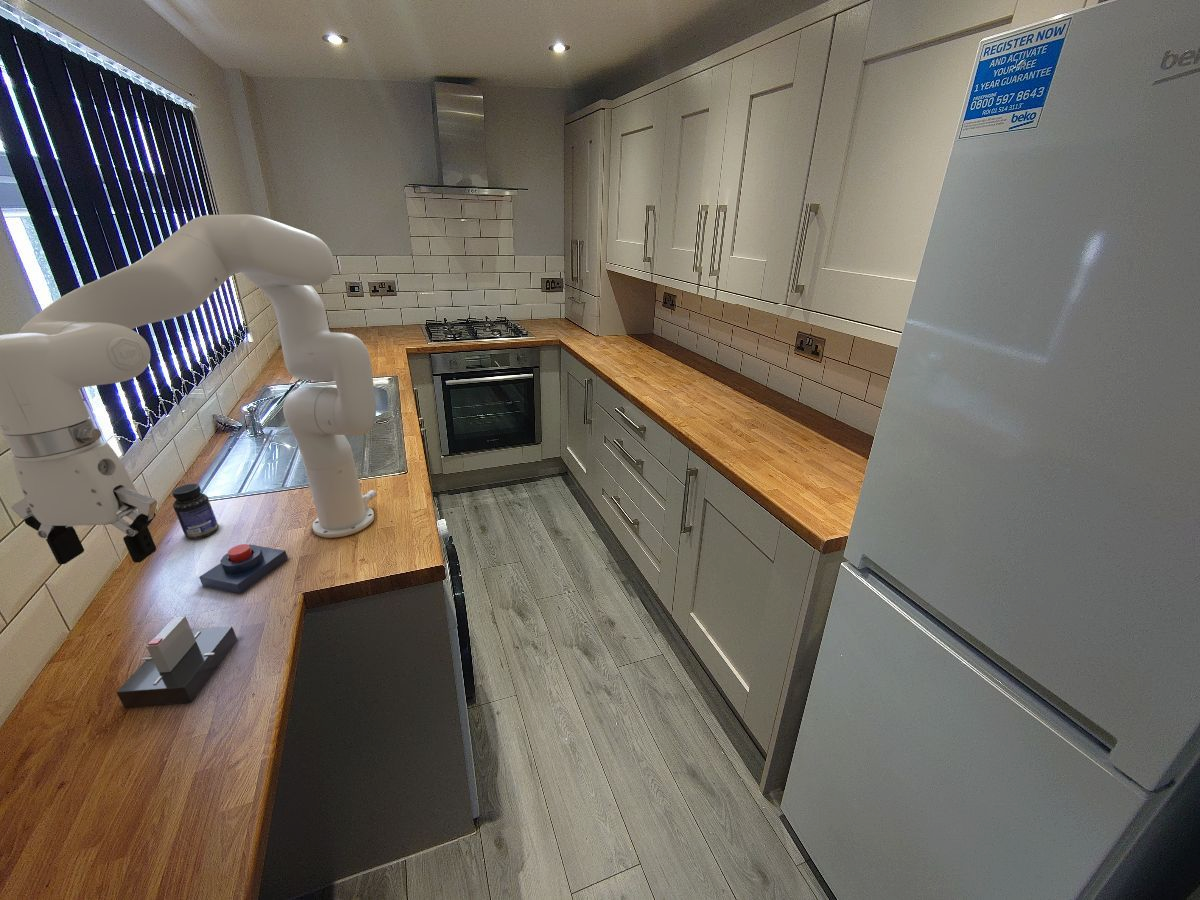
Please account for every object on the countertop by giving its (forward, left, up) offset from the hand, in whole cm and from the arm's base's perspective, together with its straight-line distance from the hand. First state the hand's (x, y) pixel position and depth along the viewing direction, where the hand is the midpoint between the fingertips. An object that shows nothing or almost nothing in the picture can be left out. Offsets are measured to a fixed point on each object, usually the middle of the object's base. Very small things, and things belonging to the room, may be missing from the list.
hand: (109, 557), depth 70 cm
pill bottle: (-32, -32, -22) cm, 50 cm away
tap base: (-1, +2, -21) cm, 22 cm away
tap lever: (-1, +2, -18) cm, 19 cm away
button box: (-23, -10, -21) cm, 33 cm away
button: (-23, -10, -18) cm, 31 cm away
